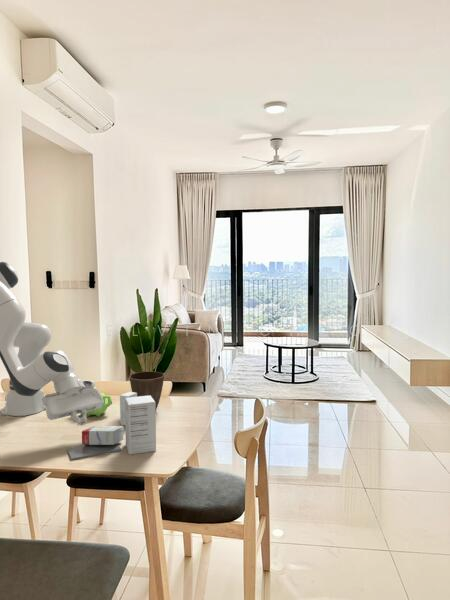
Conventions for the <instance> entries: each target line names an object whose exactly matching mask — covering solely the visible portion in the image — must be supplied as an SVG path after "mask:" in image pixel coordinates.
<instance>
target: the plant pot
mask: <svg viewBox="0 0 450 600" xmlns="http://www.w3.org/2000/svg"><path fill="white" fill-rule="evenodd" d="M128 377H129V383H130V388H131V392H135V393H137V397H139V396H151V397H152V398H153V400H154V401H155V402H156V410H157V409H158V406H159V403H160V400H161V395H162V392H163V387H164V378H165V373H163V372H159V371H139V372H134V373H132V374H130V375H129V376H128Z"/></svg>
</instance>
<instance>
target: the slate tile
mask: <svg viewBox="0 0 450 600" xmlns="http://www.w3.org/2000/svg"><path fill="white" fill-rule="evenodd" d="M66 449H67V453H68V455H69V458H70V460H71V461H75V460H80V459H85V458H90V457H95V456H96V457H97V456H102V455H108V454H112V453H118V452H121V451H122V448H121V446H120V445H119V444H118V443H116V444H114V445H82V444H81V445H77V446H72V447H70V446H69V447H67V448H66Z"/></svg>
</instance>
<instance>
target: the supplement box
mask: <svg viewBox="0 0 450 600" xmlns="http://www.w3.org/2000/svg"><path fill="white" fill-rule="evenodd" d="M156 413H157V409H156V402H155V401H154V400H153V398H152V397H151V396H139V397H129V398H125V417H126V422H125V425H124V427H125V429H124V430H125V448H126V450H127V453H128V455H135V454H142V453H150V452H156V451H157V431H156V430H157V422H156V421H157V420H156V418H157V414H156Z"/></svg>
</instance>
